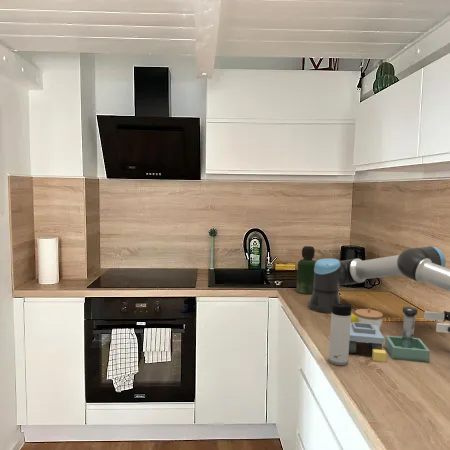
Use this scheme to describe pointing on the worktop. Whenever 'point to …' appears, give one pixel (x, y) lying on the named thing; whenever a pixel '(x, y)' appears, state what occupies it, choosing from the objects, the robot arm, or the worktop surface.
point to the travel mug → (340, 334)
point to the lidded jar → (369, 316)
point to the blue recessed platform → (365, 335)
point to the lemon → (353, 318)
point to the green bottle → (306, 271)
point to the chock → (379, 355)
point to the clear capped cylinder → (408, 326)
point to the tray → (407, 349)
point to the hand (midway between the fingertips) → (430, 321)
